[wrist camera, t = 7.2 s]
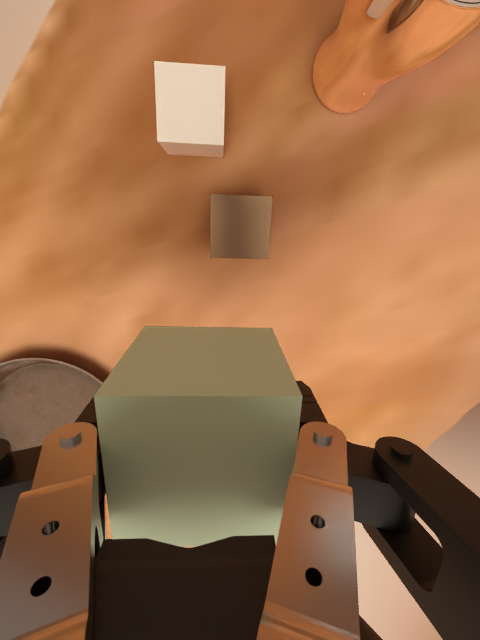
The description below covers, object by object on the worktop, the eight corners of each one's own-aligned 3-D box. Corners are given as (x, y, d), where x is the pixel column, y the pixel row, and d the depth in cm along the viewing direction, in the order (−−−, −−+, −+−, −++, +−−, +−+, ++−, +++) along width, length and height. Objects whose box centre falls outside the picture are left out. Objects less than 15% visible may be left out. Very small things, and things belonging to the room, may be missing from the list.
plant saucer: (-54, 375, 33) (-80, 390, 31) (96, 326, 33) (84, 336, 30) (30, 493, 39) (14, 514, 36) (160, 453, 38) (155, 472, 35)
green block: (271, 327, 12) (302, 396, 8) (264, 432, 14) (286, 543, 9) (145, 326, 12) (93, 395, 7) (151, 433, 14) (113, 548, 9)
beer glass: (290, 83, 27) (368, -73, 12) (342, 1, 25) (501, -288, 11) (350, 136, 28) (481, 51, 14) (402, 62, 27) (611, -120, 12)
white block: (224, 93, 27) (225, 66, 22) (223, 157, 28) (223, 145, 23) (166, 89, 26) (154, 61, 22) (168, 154, 28) (157, 141, 23)
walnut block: (264, 200, 30) (272, 196, 25) (261, 253, 31) (268, 259, 26) (212, 197, 29) (210, 193, 24) (212, 251, 31) (210, 257, 26)
